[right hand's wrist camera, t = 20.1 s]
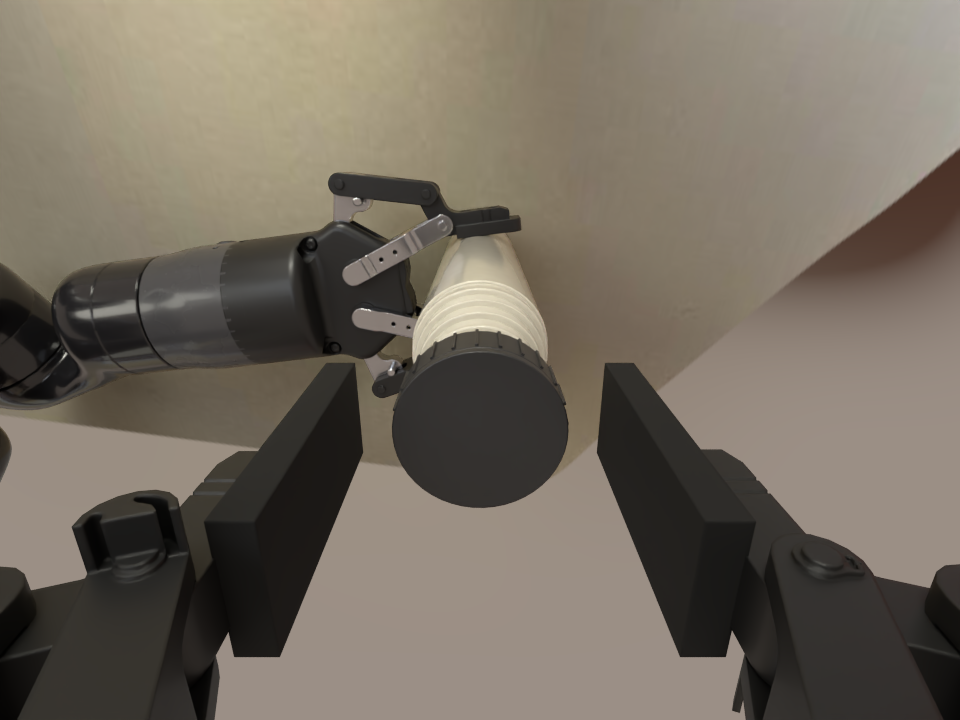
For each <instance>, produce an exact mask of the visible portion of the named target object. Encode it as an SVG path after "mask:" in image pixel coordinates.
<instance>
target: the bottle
mask: <svg viewBox="0 0 960 720" xmlns="http://www.w3.org/2000/svg"><path fill="white" fill-rule="evenodd" d="M475 329H479V331H490V332H496V333H497V332H498V331H501V334H504V335H508V336H511V337H513V338H515V339H518V338H520V339H521V340H522V342H523V343H525V344H526V345H528V346H529V347H531V348H532V349H533V350H534V351H536V350H538V351H539V354H540V356H541V357H542V358H543V360H544V361H545V362H546V364H547V360H548V338H547V332H546V327H545V325H544V322H543V319H542V317H541V314H540V312H539V309H538V307H537V304H536V302H535V299H534V297H533V295H532V292H531V290H530V287H529V285H528V282H527V280H526V277H525V275H524V272H523V270H522V268H521V265H520V263H519V260H518V258H517V255H516V253H515V250H514V248H513V245H512V243H511V241H510V239H509V238H508V236H507V235H506V234H505V233H500V234H493V235H485V236H475V237H469V238H462V239H457V235H453V236H452V237H451V239H450V241H449V243H448V245H447V248H446V250H445V253H444V255H443V258H442V260H441V263H440V265H439V268H438V270H437V273H436V275H435V278H434V280H433V283H432V285H431V288H430V290H429V293H428V295H427V298H426V300H425V303H424V305H423V308H422V310H421V312H420V315H419V317H418V320H417V322H416V325H415V329H414V333H413V340H412V359H413V364H414V363H415V362H416V358H417V356H418V355H419V354H420V355H422V354H423V353H424V352H425V351H426V350H427V349H428V348H430V347H431V346H433V343H434V342H435V341H437V342H439V341H441V340H443V339H445V338H447V337H450V336H453V333H457V334H460V333H464V332H471V331H475Z"/></svg>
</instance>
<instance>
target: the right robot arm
mask: <svg viewBox="0 0 960 720" xmlns="http://www.w3.org/2000/svg"><path fill="white" fill-rule="evenodd" d="M362 454H363V446H362V435H361V424H360V413H359V402H358V391H357V380H356V369H355V363H326V364H325V366H324V367H323V368H322V369H321V371H320V372H319V373H318V375H317V376H316V377H315V378H314V380H313V381H312V382H311V384H310V385H309V386H308V388H307V389H306V390H305V391H304V393H303V394H302V395H301V397H300V398H299V399H298V400H297V402H296V403H295V404H294V406H293V407H292V408H291V409H290V411H289V412H288V413H287V415H286V416H285V417H284V418H283V420H282V421H281V422H280V424H279V425H278V426H277V427H276V429H275V430H274V431H273V433H272V434H271V435H270V436H269V438H268V439H267V440H266V442H265V443H264V444H263V445H262V447H261V448H260V449H259V451H238V452H237V453H235V454H233V455H232V456H230V457H229V458H227V459H225V460H224V461H222V462H220V463H219V464H217V465H216V467H215V468H214V469H213V470H212V471H211V472H210V474H209V475H208V476H207V477H206V478H205V479H204V483H201V484H200V485H199V486H198V487H197V488H196V489H195V491H194V492H193V495H191V496H189V497H188V499H187V500H186V501H185V502H184V503H183V504H182V505H181V507H179V502H178V499H177V498H176V497H175V496H174V495H172V494H171V493H170V492H165V491H159V490H148V491H137V492H133V493H129V494H126V495H121V496H118V497H115V498H113V499H111V500H108V501H106V502H104V503H101V504H99V505H97V506H96V507H94V508H93V509H91V510H90V511H88V512H86V513H85V514H83V515H82V516H81V517H80V518H79V519H78V520H77V522H76V523H75V524H74V525H73V526H72V529H73V532H74V535H75V538H76V541H77V544H78V547H79V550H80V553H81V556H82V559H83V562H84V565H85V568H86V571H87V576H86V578H85V579H82V580H78V581H73V582H68V583H64V584H59V585H54V586H50V587H45V588H41V589H36V590H30V587H29V584H28V582H27V579H26V577H25V574H24V573H22V572H21V571H19V570H18V569H17V568H10V567H0V720H214V719H215V711H216V703H217V694H218V687H219V679H220V676H219V669H218V663H217V659H216V654H217V652H218V650H219V648H220V646H221V645H222V643H223V641H224V639H225V637H226V635H227V634H228V632H229V636H230V641H231V645H232V649H233V654H234V657H280V655H281V653H282V650H283V648H284V645H285V643H286V641H287V638H288V636H289V633H290V631H291V628H292V626H293V623H294V621H295V618H296V616H297V614H298V611H299V609H300V606H301V604H302V601H303V599H304V596H305V594H306V591H307V589H308V587H309V584H310V582H311V579H312V577H313V574H314V572H315V569H316V567H317V564H318V562H319V559H320V557H321V555H322V552H323V550H324V547H325V545H326V542H327V540H328V537H329V535H330V532H331V530H332V528H333V525H334V523H335V520H336V518H337V515H338V513H339V510H340V508H341V505H342V503H343V501H344V498H345V496H346V493H347V491H348V488H349V486H350V483H351V481H352V478H353V476H354V474H355V471H356V469H357V466H358V464H359V461H360V459H361V456H362ZM597 454H598V456H599V459H600V461H601V464H602V466H603V469H604V471H605V473H606V476H607V478H608V481H609V483H610V486H611V488H612V491H613V493H614V496H615V498H616V501H617V503H618V505H619V508H620V510H621V513H622V515H623V518H624V520H625V523H626V525H627V528H628V530H629V532H630V535H631V537H632V540H633V542H634V545H635V547H636V550H637V552H638V554H639V557H640V559H641V562H642V564H643V567H644V569H645V572H646V574H647V577H648V579H649V582H650V584H651V587H652V589H653V591H654V594H655V596H656V599H657V601H658V604H659V606H660V609H661V611H662V614H663V616H664V618H665V621H666V623H667V626H668V628H669V631H670V633H671V636H672V638H673V641H674V643H675V645H676V648H677V650H678V653H679V655H680V657H726V654H727V649H728V645H729V640H730V636H731V632H732V631H733V633H734V635H735V636H736V638H737V640H738V642H739V644H740V646H741V647H742V649H743V651H744V653H745V655H744V659H743V663H742V667H741V671H740V675H739V679H738V684H737V688H736V692H735V696H734V701H733V708H732V711H735V712H739V713H740V710H741V706H742V702H743V701H744V709H745V716H746V720H960V564H959V565H946V566H944V567H942V568H941V569H940V570H938V571H937V572H936V574H935V577H934V579H933V582H932V585H931V587H930V588H926V587H921V586H917V585H912V584H907V583H903V582H898V581H893V580H889V579H884V578H880V577H876V576H874V575H873V573H872V571H871V570H870V569H869V568H868V566H867V565H866V564H865V562H864V561H863V560H862V559H860V558H859V557H858V556H856V555H855V554H854V553H852V552H851V551H850V550H848V549H847V548H845V547H843V546H841V545H839V544H837V543H834V542H832V541H830V540H828V539H824V538H821V537H817V536H814V535H811V534H806V533H805V532H804V531H803V530H802V529H801V528H800V527H799V526H798V524H797V523H796V522H795V521H794V520H793V519H792V518H791V517H790V515H789V514H788V513H787V512H786V511H785V510H784V509H783V507H782V506H781V505H780V504H779V503H778V502H777V501H776V500H775V498H774V497H773V496H772V495H771V494H768V493H767V489H766V488H765V487H764V486H763V485H762V484H761V483H760V481H756V477H755V476H754V475H753V474H752V472H751V471H750V470H749V469H748V468H747V467H746V466H745V465H744V463H743V462H741V461H739V460H738V459H736V458H735V457H733V456H731V455H730V454H728V453H726V452H725V451H723V450H701V449H700V448H699V447H698V445H697V444H696V443H695V442H694V440H693V439H692V438H691V436H690V435H689V434H688V433H687V431H686V430H685V429H684V427H683V426H682V425H681V424H680V422H679V421H678V420H677V418H676V417H675V416H674V415H673V413H672V412H671V411H670V409H669V408H668V407H667V406H666V404H665V403H664V402H663V400H662V399H661V398H660V397H659V395H658V394H657V393H656V391H655V390H654V389H653V388H652V386H651V385H650V384H649V382H648V381H647V380H646V378H645V377H644V376H643V375H642V373H641V372H640V371H639V369H638V368H637V367H636V366H635V364H634V363H605V369H604V380H603V391H602V402H601V413H600V424H599V435H598V446H597Z"/></svg>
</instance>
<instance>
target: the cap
mask: <svg viewBox="0 0 960 720" xmlns="http://www.w3.org/2000/svg"><path fill="white" fill-rule="evenodd" d="M564 405H566V402H565V399H564V396H563V394H562V391H561V388H560V385H559V384H557V381H556V378H555V375H554V372H553V370H552V367H551V366H548V365H547V364H546V362H545V361H544V360H543V358H542V357H541V356H540V354H539V351H538V350H536V351H534V350H533V349H532V348H531V347H529V346H528V345H526V344H525V343H523V342H522V340H521V339H520V338H518V339H515V338H513V337H511V336H508V335H504V334H501V331H498V332H497V333H496V332H490V331H479V329H475V331H471V332H464V333H460V334H457V333H453V336H450V337H447V338H445V339H443V340H441V341H439V342H437V341H435V342H434V343H433V346H431V347H430V348H428V349H427V350H426V351H425V352H424V353H423V354H422V355H420V354H419V355H418V356H417V358H416V362H415V363H414V364H413V366H412V367H411V369H410V371H406V374H405V376H404V379H403V382H402V385H401V388H400V391H399V394H398V397H397V399H396V402H395V405H394V408H393V411H395V412H394V415H393V423H392V437H393V443H394V448H395V451H396V453H397V456H398V458H399V460H400V462H401V464H402V466H403V468H404V469H405V471H406V472H407V474H408V475H409V476H410V477H411V478H412V479H413V480H414V482H415V483H417V484H418V485H419V486H420V487H421V488H422V489H424V490H425V491H427V492H428V493H430V494H431V495H433V496H435V497H437V498H439V499H441V500H443V501H446V502H449V503H451V504H455V505H459V506H465V507H472V508H487V507H496V506H501V505H506V504H509V503H512V502H515V501H517V500H519V499H522V498H524V497H526V496H527V495H529V494H531V493H532V492H534V491H535V490H537V489H538V488H539V487H540V486H542V485H543V484H544V483H545V482H546V481H547V480H548V479H549V478H550V477H551V475H552V474H553V473H554V471H555V470H556V468H557V467H558V465H559V463H560V462H561V460H562V457H563V455H564V452H565V449H566V445H567V440H568V419H567V414H566V409H565V407H564Z"/></svg>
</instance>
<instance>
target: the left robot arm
mask: <svg viewBox="0 0 960 720" xmlns="http://www.w3.org/2000/svg"><path fill="white" fill-rule="evenodd" d="M328 185H329V189H330V190H331V192H332V193H333V194H334V221H333V222H330V223H329V224H328V225H326V226H325V227H324V228H323V229H321V230H319V231H314V232H307V233H299V234H292V235H284V236H276V237H269V238H261V239H253V240H246V241H239V242H236V241H223V242H219V243H217V244H215V245H207V246H200V247H195V248H190V249H186V250H183V251H180V252H176V253H172V254H169V255H163V256H156V257H148V258H140V259H133V260H125V261H118V262H111V263H104V264H98V265H92V266H88V267H84V268H81V269H79V270H77V271H74V272H72V273H71V274H69V275H68V276H66V277H65V278H64V279H63V280H62V281H61V282H60V284H59V285H58V287H57V289H56V290H55V292H54V295H53V299H52V304H51V303H50V302H48V301H47V300H46V299H45V298H44V297H43V296H41V295H40V294H39V293H38V292H37V291H35V290H34V289H33V288H32V287H31V286H30V285H29V284H27V283H26V282H25V281H24V280H23V279H22V278H20V277H19V276H18V275H17V274H16V273H14V272H13V271H12V270H11V269H9V268H8V267H7V266H5V265H3V264H2V263H0V408H5V409H13V410H37V409H44V408H48V407H52V406H55V405H58V404H60V403H63V402H65V401H67V400H70V399H72V398H75V397H77V396H80V395H82V394H84V393H87V392H89V391H92V390H95V389H97V388H100V387H102V386H105V385H107V384H109V383H111V382H113V381H116V380H118V379H121V378H123V377H126V376H128V375H137V374H148V373H156V372H164V371H173V370H181V369H192V368H206V369H221V368H232V367H240V366H249V365H257V364H265V363H274V362H282V361H290V360H299V359H307V358H316V357H324V356H331V355H337V354H346V355H350V356H353V357H356V358H359V359H364V360H365V362H366V364H367V367H368V369H369V371H370V373H371V375H372V377H373V379H374V384H373V386H372V391H373V393H374V395H375V396H377V397H379V398H385V397H388V396H391V395H394V394H397V393H399V391H400V388H401V385H402V382H403V379H404V376H405V374H406V371H410V369H411V367H412V366H413V359H412V357H411V358H408V359H405V360H403V359H402V358H401V357H400V356H398V355H391V356H388V355H384V354H383V353H382V352H381V350H382V349H383V348H384V347H385V346H386V345H387V344H388V343H389V342H390V341H391V340H392V339H393V338H394V337H395V336H396V335H401V336H405V337H410V338H413V333H414V329H415V325H416V322H417V320H418V317H419V315H420V312H421V310H422V308H423V305H422V304H417V301H416V296H415V292H414V289H413V287H412V285H411V283H410V270H411V267H410V261H409V257H410V256H412V255H414V254H415V253H417V252H419V251H420V250H422V249H423V248H425V247H427V246H429V245H431V244H433V243H435V242H436V241H438V240H440V239H442V238H444V237H446V236H453V235H457V239H462V238H469V237H475V236H485V235H493V234H500V233H508V232H516V231H520V230H521V221H520V217H519V215H514V216H509V209H508V208H506V207H502V206H492V207H485V208H477V209H470V210H462V211H455V210H452V209H451V208H449V207H448V206H447V204H446V203H445V201H444V199H443V197H442V195H441V193H440V188H439V186H438V185H437V184H436V183H434V182H430V181H422V180H413V179H404V178H396V177H387V176H378V175H370V174H361V173H352V172H340V173H334V174H333V175H331V177H330V178H329V181H328ZM373 200H380V201H389V202H398V203H407V204H415V205H421V207H422V209H423V211H424V213H425V215H426V217H427V218H428V219H427V220H425V221H424V222H422V223H420V224H418V225H416V226H414V227H412V228H410V229H408V230H406V231H405V232H403V233H401V234H399V235H397V236H395V237H394V238H392V239H390V240H388V239H386V238H384V237H382V236H380V235H379V234H377V233H375V232H373V231H371V230H369V229H368V228H366V227H364V226H362V225H360V224H358V223H356V222H355V221H353V218H354V215H355V214H356V213H357V212H363V211H366V210H368V209H370V208H371V206H372V205H373ZM414 312H415V313H416V314H414ZM408 325H409V326H410V327H408ZM11 450H12V448H11V443H10V440H9V438H8V436H7V434H6V433H5V432H4V430H3V429H2V428H1V427H0V481H1V479H2V477H3V475H4V473H5V470H6V468H7V466H8V463H9V460H10V456H11Z"/></svg>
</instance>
